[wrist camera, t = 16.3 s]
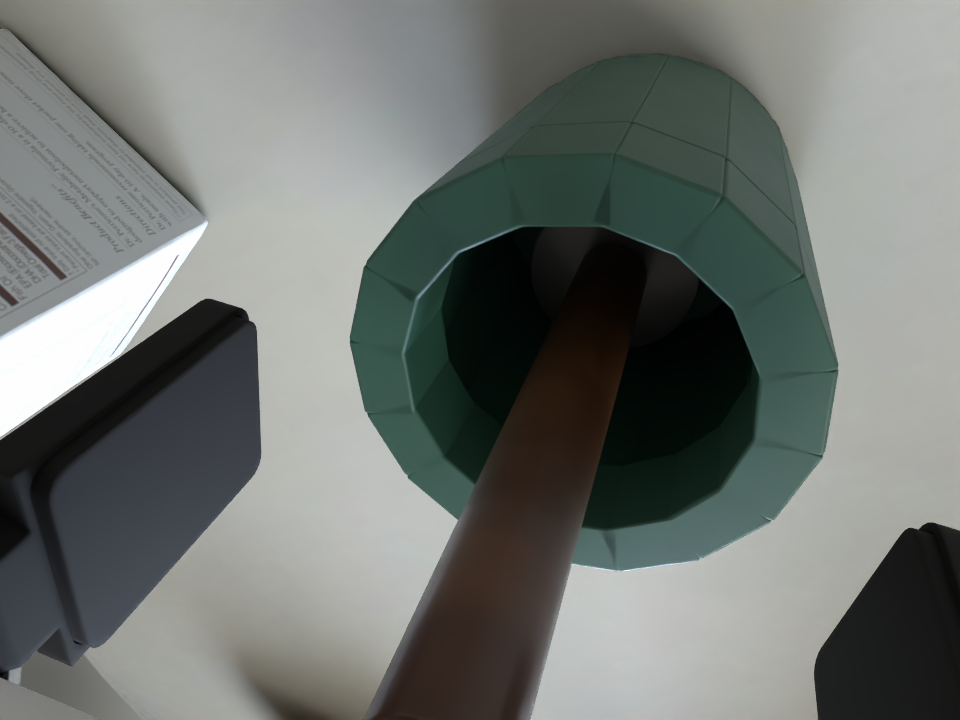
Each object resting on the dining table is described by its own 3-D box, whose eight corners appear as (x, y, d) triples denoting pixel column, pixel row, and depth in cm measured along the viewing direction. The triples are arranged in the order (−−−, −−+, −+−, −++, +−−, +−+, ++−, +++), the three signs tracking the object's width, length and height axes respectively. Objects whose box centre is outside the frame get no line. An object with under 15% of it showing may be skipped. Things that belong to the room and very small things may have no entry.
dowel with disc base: (535, 218, 21) (191, 708, 8) (633, 114, 18) (379, 561, 5) (632, 309, 21) (463, 911, 8) (740, 219, 19) (738, 852, 6)
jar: (449, 208, 22) (279, 372, 14) (638, -21, 17) (549, 25, 9) (637, 378, 23) (581, 623, 15) (863, 205, 18) (959, 424, 10)
